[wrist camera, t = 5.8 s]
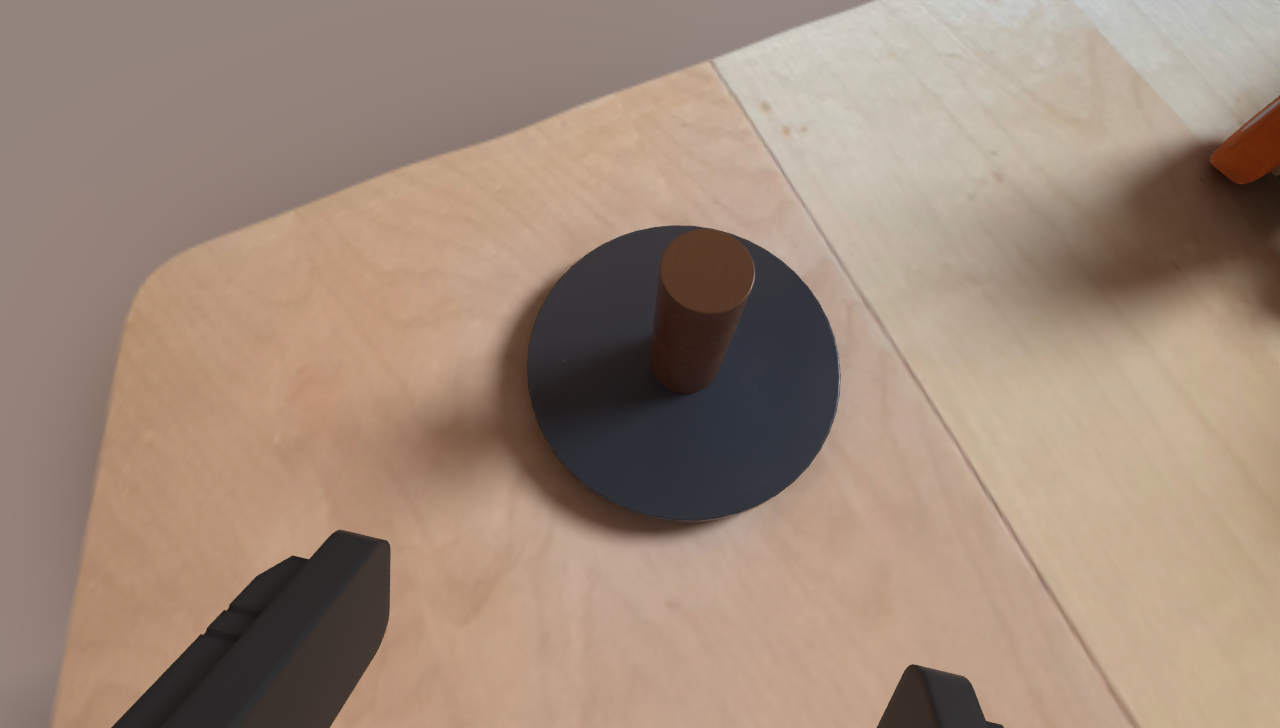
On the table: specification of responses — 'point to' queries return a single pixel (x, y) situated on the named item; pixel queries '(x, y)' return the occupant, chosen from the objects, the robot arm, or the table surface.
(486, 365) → the table surface
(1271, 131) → the toy helicopter
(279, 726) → the robot arm
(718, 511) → the lid
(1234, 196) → the table surface
